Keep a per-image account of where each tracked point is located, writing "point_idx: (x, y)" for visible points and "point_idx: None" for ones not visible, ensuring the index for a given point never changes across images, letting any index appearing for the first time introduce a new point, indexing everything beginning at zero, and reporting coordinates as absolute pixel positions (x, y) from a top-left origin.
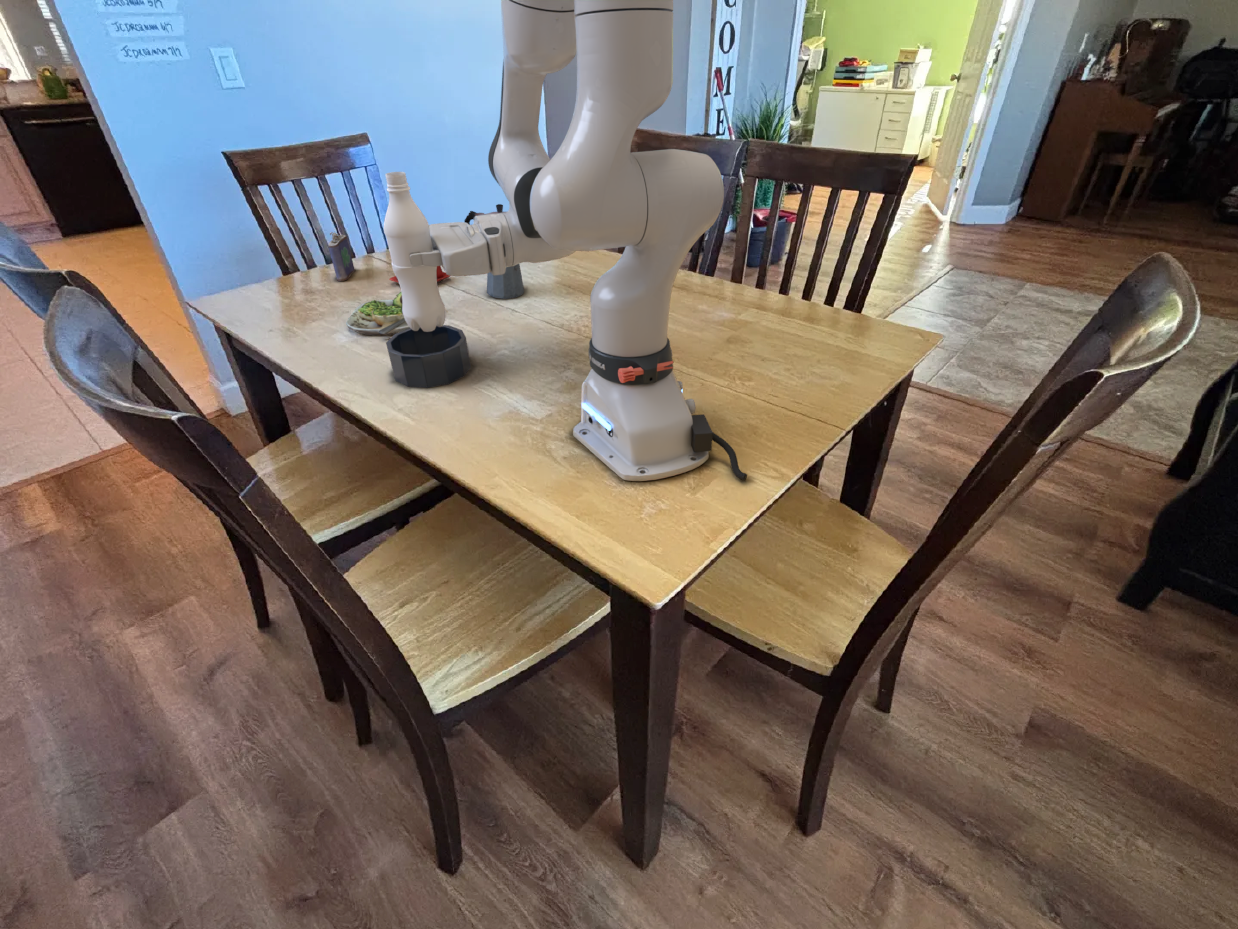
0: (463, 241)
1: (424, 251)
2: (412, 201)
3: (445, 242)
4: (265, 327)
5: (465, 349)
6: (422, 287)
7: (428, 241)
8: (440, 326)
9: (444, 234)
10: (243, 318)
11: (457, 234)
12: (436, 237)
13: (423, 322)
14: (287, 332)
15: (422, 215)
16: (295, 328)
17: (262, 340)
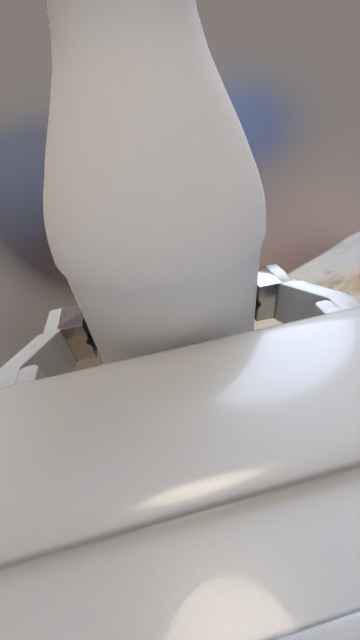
0: (43, 588)
1: (97, 341)
2: (91, 47)
3: (47, 413)
4: (336, 266)
5: None
6: None
7: (114, 327)
8: None
9: (268, 385)
10: (355, 248)
11: (331, 496)
12: (202, 351)
13: None
14: (327, 283)
15: (110, 183)
16: (342, 286)
17: (301, 273)
